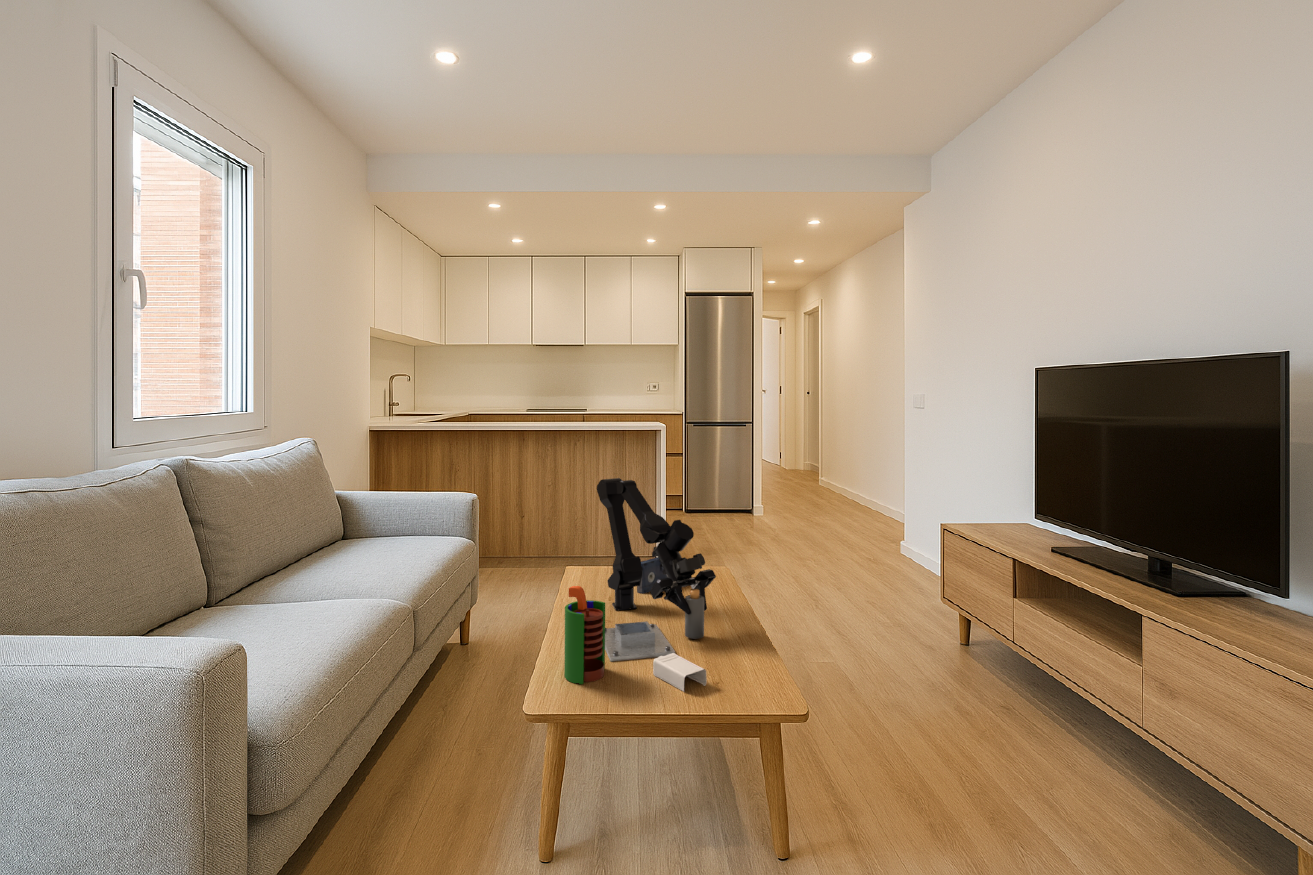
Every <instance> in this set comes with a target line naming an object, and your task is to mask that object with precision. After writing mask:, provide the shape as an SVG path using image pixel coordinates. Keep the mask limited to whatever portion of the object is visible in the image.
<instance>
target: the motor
mask: <svg viewBox="0 0 1313 875" xmlns="http://www.w3.org/2000/svg"><path fill="white" fill-rule="evenodd" d="M586 596H587V595H586V593H585V590H584V587H582V586H580V585H573V586H570V587H569V588H568V597H569V598H576V601H573V602H569V603H567V604H566V605H565V607H564V663H563V664H564V670H563V672H564V679H565V678H566V679H567V680H566V679H565V680H566V681H568V682H570V683H573V684H576V683H579V684H578V685H584V683H590V682H595V681H598V680H601V679H602V678H604V675H605V664H606V650H605V628H606V602H604V601H600V600H589V599H587V597H586Z"/></svg>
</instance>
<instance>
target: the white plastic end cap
mask: <svg viewBox="0 0 1313 875" xmlns="http://www.w3.org/2000/svg"><path fill="white" fill-rule="evenodd" d="M652 663H653V664H652V669H653V670H652V672H653V674H652V675H653V676H655V678H658V679H661V681H664V682H666V683H667V684H669V685H671V686H673V687H674V688H676V689H678V690H679V691H682V692H683V693H685V678H688V679H690V680H693V681H695V682H697V683H699V684H700V685H701V684H702V685H703V686H707V684H708V683H707V680H708V679H707V676H708V675H707V669H705V668H704V667H701V666H699V665H697V664H695V663H693V662H692V661H689V659H686V658H684V657H682V656H680V655H678V654H676V652H675V653H671V654H668V655H666V656H659V657H654V659H653V662H652Z"/></svg>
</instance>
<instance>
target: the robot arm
mask: <svg viewBox="0 0 1313 875" xmlns="http://www.w3.org/2000/svg"><path fill="white" fill-rule="evenodd" d="M596 492H597V495H598V498H599V501H600V503H601V504H602V505H603V506H604V507H605V509H606V510H607V511H606V512H607V515H608V521H609V526H610V532H611V537H612V541H613V546H614V552H615V557H614V559H613V564H612V574H611V575H610V576H609V578H608V579H607V586H608V588H609V589H612V590H614V602H612V603H611V605H612V606H613V609H614V610H615V611H626V610H627V611H628V610H636V609H637V608H638V607H637V605H636V604H635V595H634V594H635V592H634V591H635V588H634V587H637V586H640V583H641V579H642V574H643V572H642V570H643V568H642V566H641V558H640V556H637V555H635V554H634V552H633V550H632V546H631V545H632V544H631V539H630V535H629V529H628V525H627V519H626V515H625V509H624V503H625V502H626V504H627V505H628V507H629V508H630V510H631V511H632V513H633V514H634V516H635V517H636V519H637V520H638V522H639V531H640V534H641V536H642V538H643V539H644V542H645V543H646V544H650V545H652V544H657V546H653V549H652V552H651V556H652V558H657V557H658V558H659V560H660V562H661V564H662V566H663V568H664V570H663V571H662V573H663V575H665V574H667V576H668V578H664V579H659V580H657V582H656V583H655V584H654V585H653V587H652V588H651V591H650V595H651V597H652V599H653V600H657V599H662V598H663V599H664V600H665V601H668V602H670V603H672V604H673V605H675V606H676V607H678V608H679V609H681V611H683V612H684V614H685V613H687V614H688V615H690V614H691V610H690V608H689V605H688V603H687V601H686V599H685V597H686V596H685V595H684V594H683V588H686V587H689V586H690V588H691V589H699V595H701V596H703V597H704V612H705V611H706V610H707V609H708V605H707V604H708V603H707V599H706V588H708V587H709V585H710V584H711V583H713V581H714V580H715V579H716V578H717V576H716V574H715V572H714V570H713V569H710V568H709V569H703V566H704V565H705V564H706V559H705V557H704V556H703V554H702V553H696V554H694V555H692V557H689V558H687V557H682V555H681V553H680V552H682V551H683V550H684V549H685V548H686V547H687V545H688V544H689V543H690V542H691V540H692V539H693V538H694V535H695V533H694V529H693V528H692V527H691V526H689V525H688V524H686V523H684V522H682V519H675V520H673V521H672V523H671V525H670V524H669V522H668V521H667V520H666V519H665V518H664V517H663V516H661V515H659V514H657V513H656V512H654V510H653V509H652V507H651V505H650V504H649V503H648V501H647V499H646V498H645V497H644V496H643V494H642V493H641V491H640V490H639V488H638V486H637V482H636V481H635V480H632V479H628V480H627V479H626V480H622V478H619V477H614V478H605V479H604V478H603V479H600V480H599V482H598V483H597V485H596ZM702 569H703V570H702ZM697 570H700V571H698V573H697V574H696V571H697ZM695 574H696V575H695ZM694 575H695V576H694ZM693 576H694V577H693ZM664 595H665V596H664ZM637 610H638V609H637Z"/></svg>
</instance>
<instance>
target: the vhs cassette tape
mask: <svg viewBox="0 0 1313 875" xmlns="http://www.w3.org/2000/svg"><path fill="white" fill-rule="evenodd" d="M641 566H642V568H643V570H642V572H643V574H642V579H641V583H640V586H636V592H637V593H638V594H642V595H643V594H646V593H649V592H650V593H651V588H652V587H653V585H654V584H655V583H656V582H657V580H659V579H664V578H668V576H667V574H665V575H663V573H662V571H663V570H664V568H663V566H662V564H661V562H660V560H659V558H658V556H657V557H652V558H649V559H647V560H642V561H641Z"/></svg>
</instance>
